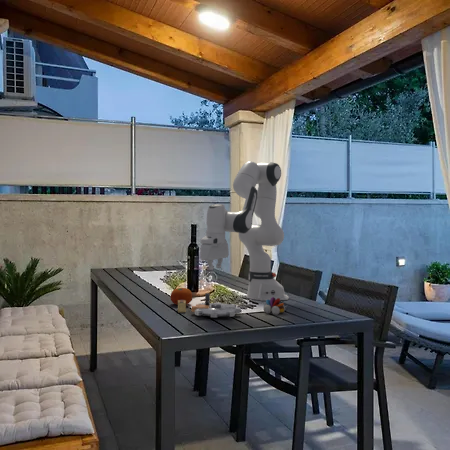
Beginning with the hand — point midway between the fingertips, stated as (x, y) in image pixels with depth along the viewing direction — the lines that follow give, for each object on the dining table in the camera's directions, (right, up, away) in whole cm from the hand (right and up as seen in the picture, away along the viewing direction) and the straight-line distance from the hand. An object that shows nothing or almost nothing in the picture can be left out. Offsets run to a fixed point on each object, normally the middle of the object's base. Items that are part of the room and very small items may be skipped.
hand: (215, 268), depth 223 cm
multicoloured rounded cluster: (+27, -20, -3) cm, 34 cm away
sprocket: (+1, -18, -11) cm, 21 cm away
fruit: (-17, -19, +11) cm, 27 cm away
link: (-15, -19, -3) cm, 25 cm away
